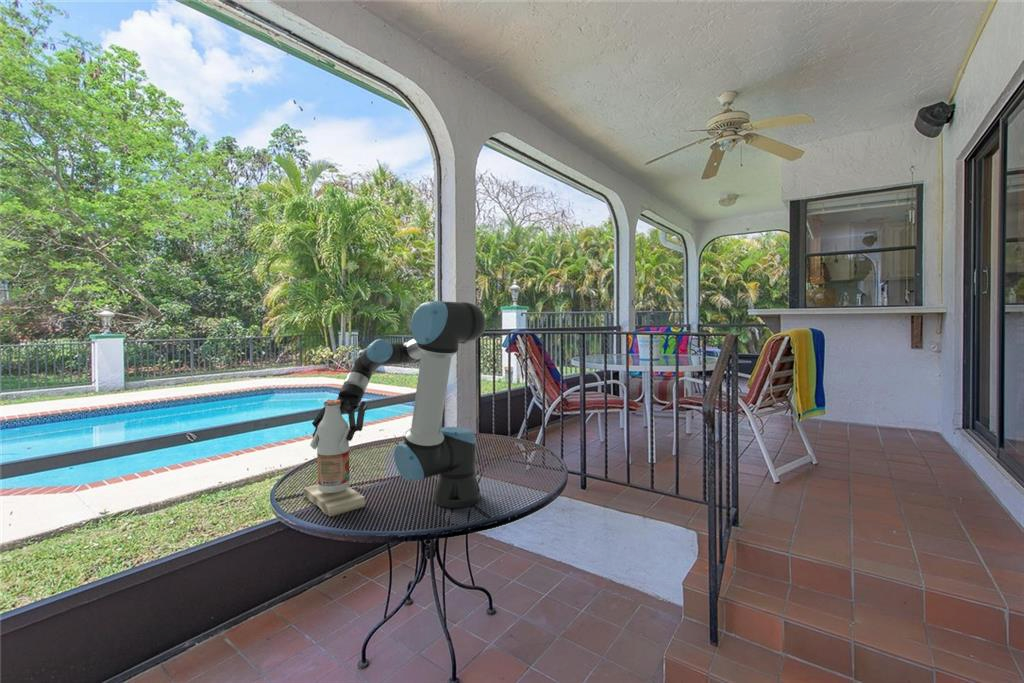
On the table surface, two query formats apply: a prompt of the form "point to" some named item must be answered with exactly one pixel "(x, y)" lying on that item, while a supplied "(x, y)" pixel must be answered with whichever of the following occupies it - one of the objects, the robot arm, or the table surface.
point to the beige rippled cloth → (335, 500)
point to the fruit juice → (332, 450)
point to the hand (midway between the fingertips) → (327, 448)
